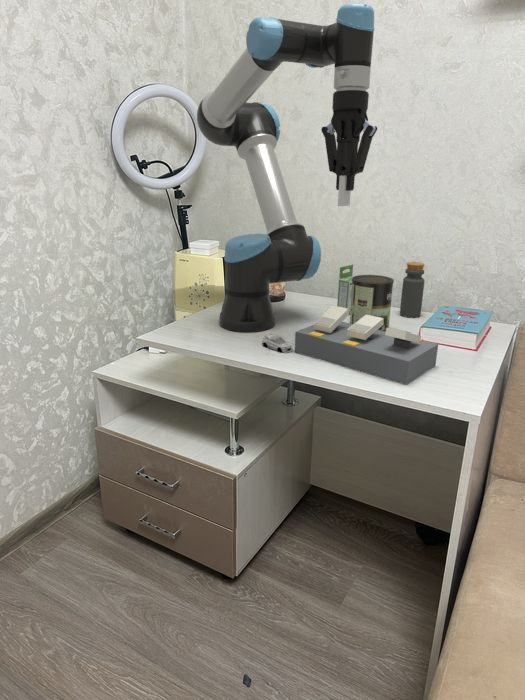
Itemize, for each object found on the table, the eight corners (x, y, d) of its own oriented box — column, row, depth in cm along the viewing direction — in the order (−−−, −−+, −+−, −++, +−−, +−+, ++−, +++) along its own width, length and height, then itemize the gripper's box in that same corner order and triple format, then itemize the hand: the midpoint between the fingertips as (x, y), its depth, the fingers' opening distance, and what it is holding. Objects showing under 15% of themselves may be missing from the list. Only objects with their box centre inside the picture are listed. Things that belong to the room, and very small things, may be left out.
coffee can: (388, 327, 141) (393, 275, 136) (389, 339, 131) (394, 284, 126) (349, 324, 143) (352, 273, 138) (347, 336, 133) (351, 282, 128)
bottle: (395, 314, 152) (400, 263, 147) (407, 311, 156) (412, 260, 151) (412, 319, 148) (418, 266, 143) (424, 315, 152) (430, 263, 147)
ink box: (347, 315, 151) (350, 269, 147) (336, 312, 154) (338, 267, 149) (361, 310, 156) (364, 265, 151) (350, 308, 158) (353, 264, 154)
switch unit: (294, 352, 122) (295, 325, 120) (328, 337, 132) (330, 312, 130) (406, 384, 105) (409, 354, 103) (435, 365, 115) (439, 337, 113)
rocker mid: (347, 335, 115) (347, 328, 114) (366, 320, 120) (366, 313, 119) (365, 340, 113) (364, 332, 112) (383, 324, 118) (383, 317, 117)
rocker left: (314, 329, 121) (313, 323, 120) (333, 310, 126) (332, 304, 125) (330, 333, 118) (329, 326, 117) (349, 314, 123) (348, 308, 122)
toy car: (284, 355, 121) (284, 342, 120) (260, 346, 126) (260, 334, 125) (295, 351, 123) (295, 339, 122) (270, 343, 129) (271, 331, 128)
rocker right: (384, 334, 109) (386, 326, 109) (400, 339, 115) (402, 331, 115) (404, 339, 106) (406, 331, 106) (419, 343, 112) (421, 335, 112)
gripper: (315, 91, 113) (310, 204, 121) (369, 86, 105) (360, 208, 113) (334, 94, 118) (329, 202, 126) (387, 90, 110) (377, 206, 119)
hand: (343, 205), depth 120 cm, fingers closed
